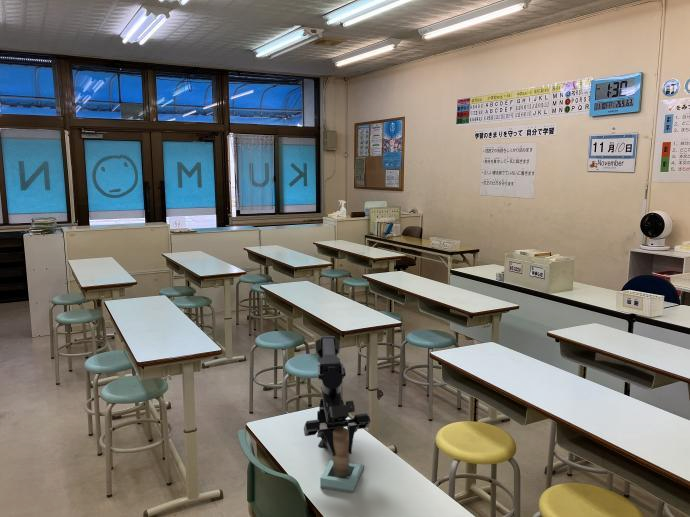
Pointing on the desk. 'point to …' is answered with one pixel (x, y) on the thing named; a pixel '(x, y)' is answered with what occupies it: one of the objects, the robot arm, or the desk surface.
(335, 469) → the dowel peg
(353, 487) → the light blue hollow frame
